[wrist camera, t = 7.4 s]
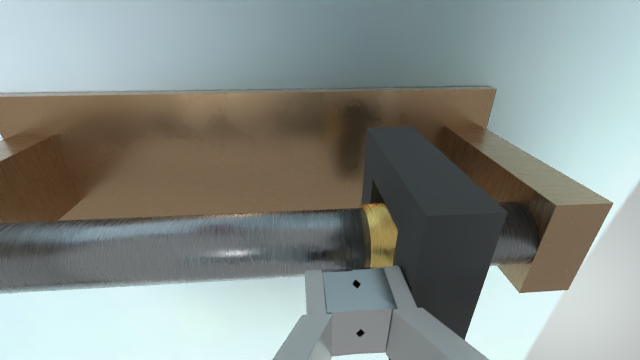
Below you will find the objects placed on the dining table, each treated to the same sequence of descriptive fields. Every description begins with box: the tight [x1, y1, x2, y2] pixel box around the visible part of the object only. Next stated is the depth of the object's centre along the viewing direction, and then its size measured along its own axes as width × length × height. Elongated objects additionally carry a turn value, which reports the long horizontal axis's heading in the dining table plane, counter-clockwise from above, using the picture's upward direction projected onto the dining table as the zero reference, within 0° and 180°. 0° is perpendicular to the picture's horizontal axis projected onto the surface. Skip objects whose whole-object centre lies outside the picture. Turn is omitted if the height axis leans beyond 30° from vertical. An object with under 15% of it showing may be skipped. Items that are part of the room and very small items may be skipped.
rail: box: [0, 86, 613, 294], centre depth 14 cm, size 26×8×9 cm, turn 90°
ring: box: [361, 127, 508, 360], centre depth 12 cm, size 2×7×7 cm, turn 0°
